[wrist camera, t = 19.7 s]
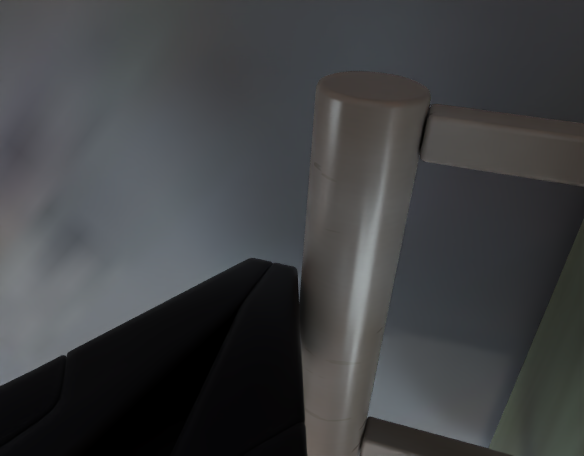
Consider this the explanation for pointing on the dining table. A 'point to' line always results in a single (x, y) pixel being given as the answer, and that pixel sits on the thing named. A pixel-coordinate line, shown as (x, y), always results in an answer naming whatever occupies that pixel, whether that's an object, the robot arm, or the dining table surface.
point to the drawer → (385, 254)
